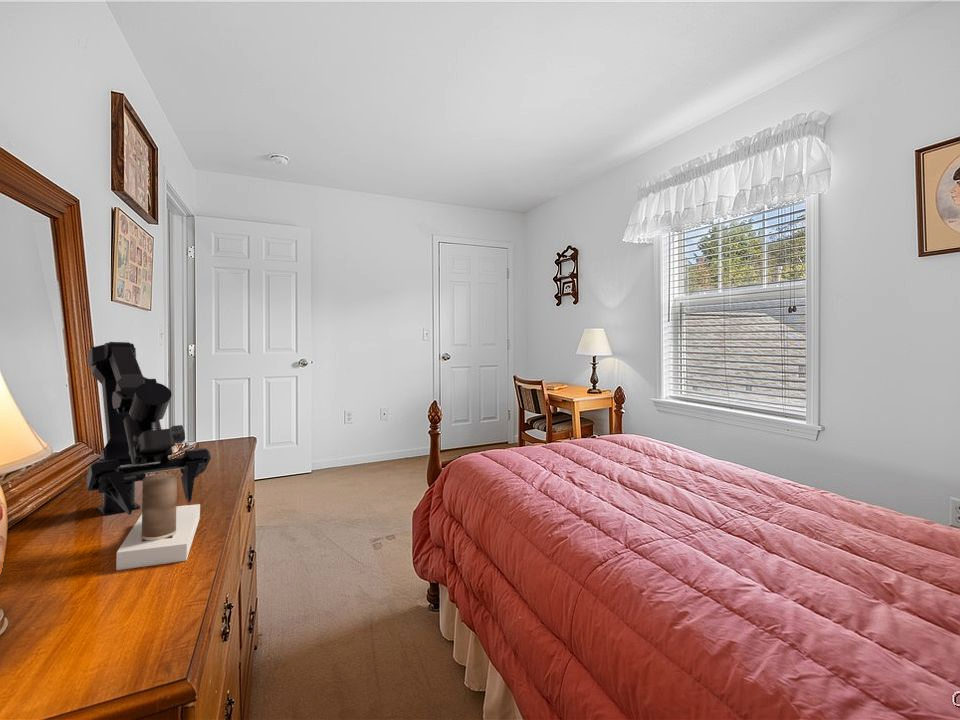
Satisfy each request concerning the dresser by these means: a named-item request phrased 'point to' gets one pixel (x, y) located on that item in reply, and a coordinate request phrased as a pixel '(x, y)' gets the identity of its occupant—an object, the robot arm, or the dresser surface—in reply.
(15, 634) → the dresser surface
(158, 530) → the peg
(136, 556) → the board
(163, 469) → the robot arm
